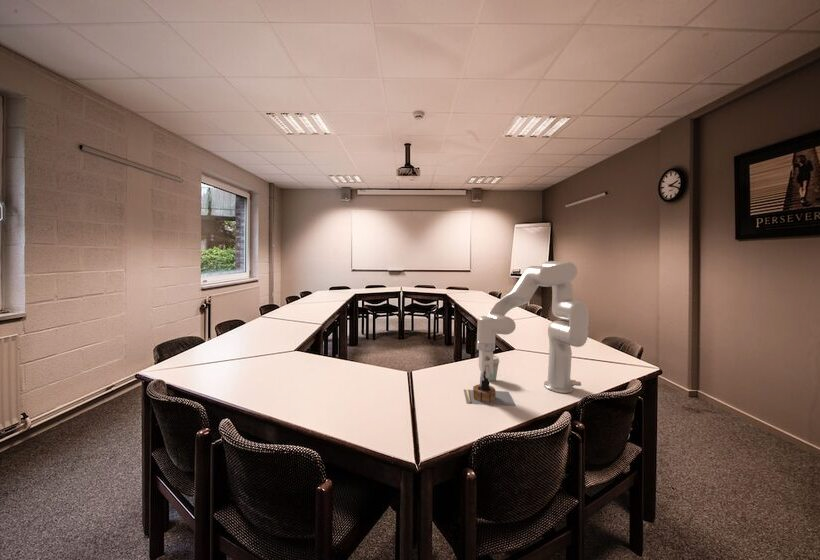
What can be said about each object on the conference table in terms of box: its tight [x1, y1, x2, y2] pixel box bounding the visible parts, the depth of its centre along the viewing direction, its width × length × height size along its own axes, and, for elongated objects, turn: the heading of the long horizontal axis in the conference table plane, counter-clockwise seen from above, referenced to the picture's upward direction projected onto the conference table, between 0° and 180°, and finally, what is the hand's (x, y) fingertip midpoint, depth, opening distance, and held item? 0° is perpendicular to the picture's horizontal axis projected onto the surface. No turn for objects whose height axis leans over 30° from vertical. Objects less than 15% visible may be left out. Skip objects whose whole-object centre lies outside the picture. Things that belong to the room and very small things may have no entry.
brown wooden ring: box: [472, 383, 497, 403], centre depth 137 cm, size 9×9×4 cm
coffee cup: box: [489, 354, 500, 383], centre depth 158 cm, size 8×8×12 cm
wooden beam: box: [479, 372, 488, 391], centre depth 137 cm, size 3×3×11 cm
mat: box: [463, 388, 517, 407], centre depth 138 cm, size 20×14×1 cm
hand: (484, 387), depth 137 cm, fingers closed on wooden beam, 3 cm apart
